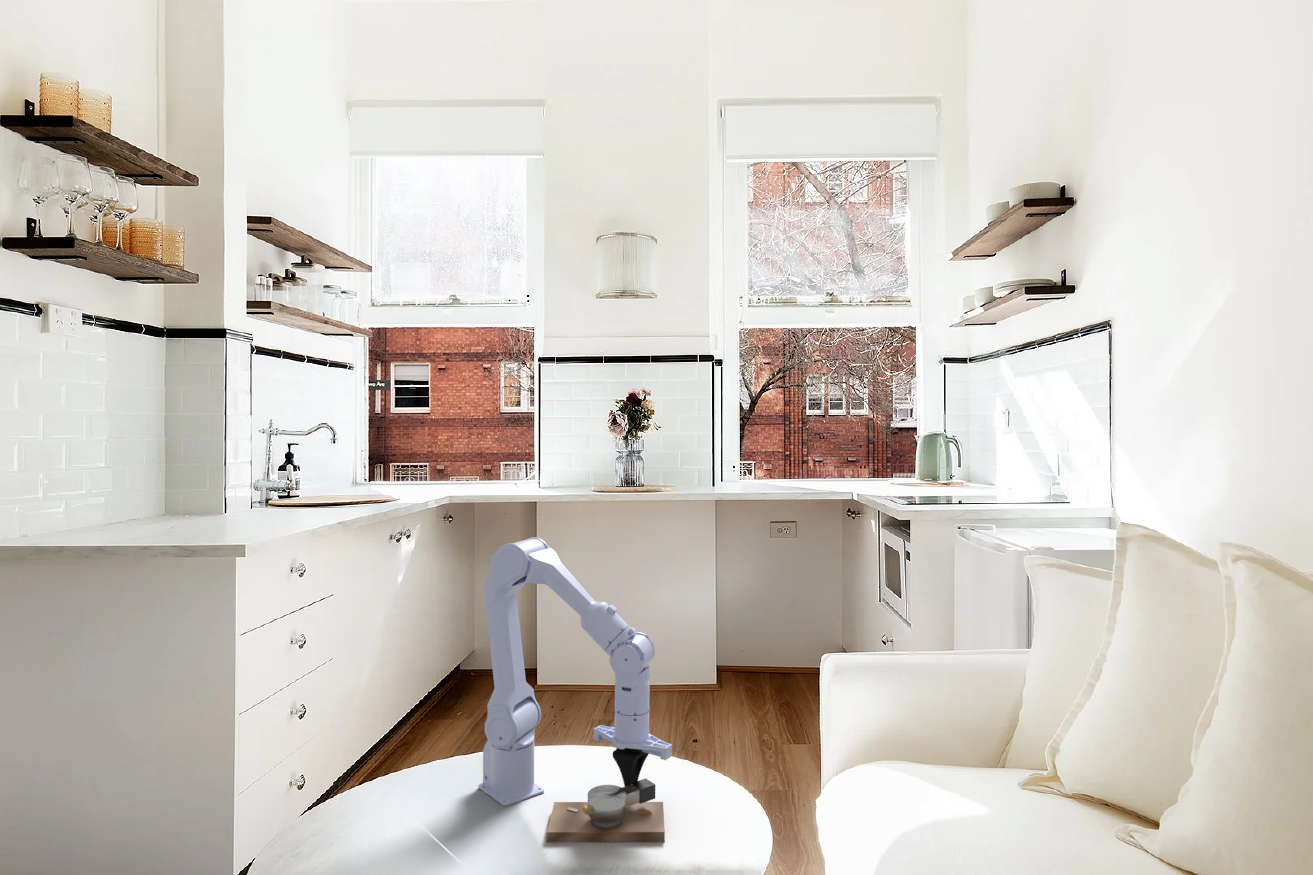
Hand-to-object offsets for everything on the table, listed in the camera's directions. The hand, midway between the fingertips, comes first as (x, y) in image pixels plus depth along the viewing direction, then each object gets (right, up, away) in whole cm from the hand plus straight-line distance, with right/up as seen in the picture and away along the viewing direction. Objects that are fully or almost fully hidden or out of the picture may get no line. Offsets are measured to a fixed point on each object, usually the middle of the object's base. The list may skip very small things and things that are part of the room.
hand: (631, 791), depth 126 cm
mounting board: (-4, -3, -5) cm, 7 cm away
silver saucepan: (-2, -1, -5) cm, 5 cm away
